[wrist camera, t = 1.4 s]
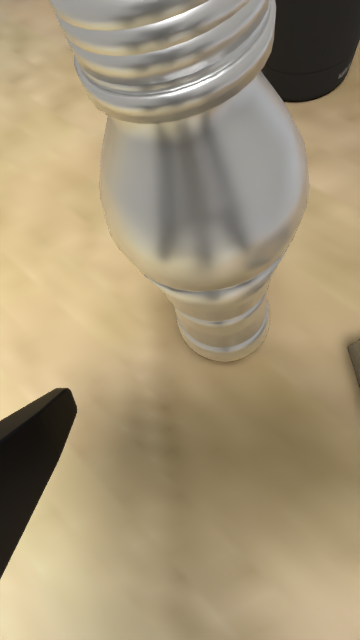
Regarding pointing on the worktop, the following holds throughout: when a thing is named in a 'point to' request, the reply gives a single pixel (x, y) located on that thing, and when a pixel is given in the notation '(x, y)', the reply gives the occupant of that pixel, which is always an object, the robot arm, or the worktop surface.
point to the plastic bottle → (194, 155)
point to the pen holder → (312, 46)
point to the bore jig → (355, 357)
